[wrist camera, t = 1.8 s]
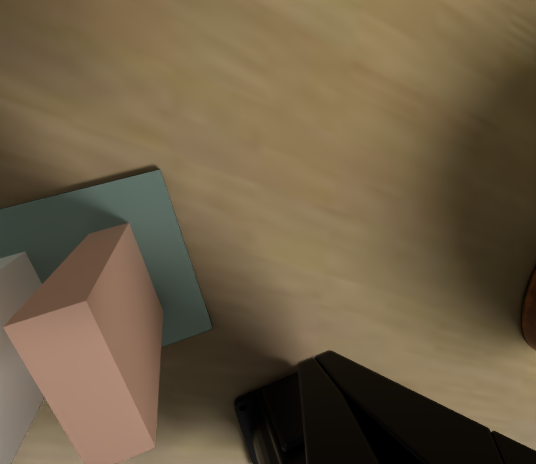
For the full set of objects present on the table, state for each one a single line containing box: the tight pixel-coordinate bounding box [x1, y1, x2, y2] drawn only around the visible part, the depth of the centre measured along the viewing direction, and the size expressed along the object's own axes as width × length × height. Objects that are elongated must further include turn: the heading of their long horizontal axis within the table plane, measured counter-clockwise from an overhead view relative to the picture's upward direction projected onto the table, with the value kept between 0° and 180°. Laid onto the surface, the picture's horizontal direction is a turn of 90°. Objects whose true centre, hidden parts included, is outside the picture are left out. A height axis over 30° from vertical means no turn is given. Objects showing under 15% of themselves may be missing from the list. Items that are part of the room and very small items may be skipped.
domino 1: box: [3, 223, 163, 464], centre depth 12 cm, size 5×2×8 cm, turn 13°
